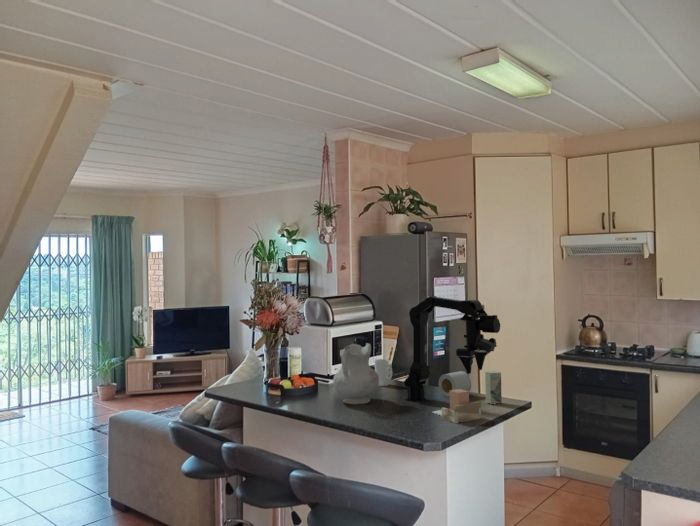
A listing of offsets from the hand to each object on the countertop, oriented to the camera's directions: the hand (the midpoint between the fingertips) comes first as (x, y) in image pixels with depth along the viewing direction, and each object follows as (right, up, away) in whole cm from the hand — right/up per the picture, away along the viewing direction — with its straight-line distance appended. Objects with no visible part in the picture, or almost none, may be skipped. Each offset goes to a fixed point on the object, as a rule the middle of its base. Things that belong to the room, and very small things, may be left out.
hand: (474, 371), depth 215 cm
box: (+10, -15, +8) cm, 19 cm away
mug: (-32, -17, +50) cm, 62 cm away
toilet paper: (-3, -16, +24) cm, 29 cm away
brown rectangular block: (-8, -15, -13) cm, 21 cm away
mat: (-12, -15, -6) cm, 20 cm away
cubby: (-8, -15, -13) cm, 21 cm away
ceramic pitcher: (-47, -16, +17) cm, 52 cm away
